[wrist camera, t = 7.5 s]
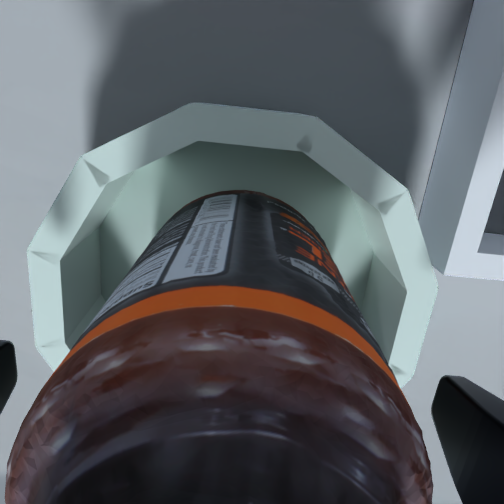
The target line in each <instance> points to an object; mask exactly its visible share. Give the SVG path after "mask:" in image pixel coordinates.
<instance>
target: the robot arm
mask: <svg viewBox="0 0 504 504" xmlns="http://www.w3.org/2000/svg"><path fill="white" fill-rule="evenodd" d="M16 382H17V366H16V357H15V348H14V345H13V343H12V342H10V341H6V340H0V414H1V412H2V411H3V409H4V407H5V405H6V403H7V401H8V399H9V397H10V395H11V393H12V391H13V389H14V387H15V385H16ZM431 414H432V419H433V422H434V425H435V428H436V431H437V434H438V437H439V440H440V443H441V446H442V449H443V452H444V455H445V458H446V461H447V464H448V467H449V470H450V473H451V476H452V478H453V481H454V484H455V486H456V489H457V491H458V494H459V496H460V498H461V501H462V503H463V504H504V401H503V400H501V399H500V398H498V397H496V396H495V395H493V394H491V393H490V392H488V391H486V390H485V389H483V388H481V387H480V386H478V385H476V384H475V383H473V382H471V381H470V380H468V379H466V378H464V377H461V376H450V375H445V376H443V377H442V378H441V379H440V381H439V384H438V387H437V390H436V393H435V396H434V400H433V403H432V407H431Z"/></svg>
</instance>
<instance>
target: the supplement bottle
mask: <svg viewBox="0 0 504 504" xmlns="http://www.w3.org/2000/svg"><path fill="white" fill-rule="evenodd" d="M432 493H433V482H432V474H431V470H430V460H429V458H428V453H427V450H426V446H425V444H424V440H423V436H422V430H421V428H420V427H419V425H418V423H417V421H416V420H415V417H414V415H413V412H412V410H411V408H410V406H409V404H408V402H407V400H406V398H405V396H404V394H403V393H402V391H401V389H400V387H399V384H398V382H397V380H396V377H395V375H394V373H393V371H392V369H391V368H390V367H389V365H388V362H387V360H386V358H385V357H384V354H383V352H382V350H381V348H380V346H379V344H378V343H377V341H376V339H375V337H374V336H373V334H372V332H371V329H370V327H369V326H368V324H367V322H366V320H365V318H364V317H363V315H362V313H361V311H360V309H359V308H358V306H357V304H356V302H355V300H354V298H353V297H352V295H351V293H350V292H349V289H348V287H347V286H346V284H345V282H344V280H343V277H342V275H341V274H340V272H339V269H338V267H337V265H336V264H335V263H334V261H333V259H332V257H331V254H330V252H329V250H328V248H327V247H326V244H325V242H324V240H323V239H322V238H321V236H320V234H319V233H318V232H317V231H316V229H315V228H314V226H313V225H312V224H310V223H309V222H308V220H307V219H306V218H305V217H304V216H303V215H302V214H300V213H299V212H298V211H297V210H296V209H294V208H293V207H292V206H290V205H288V204H287V203H285V202H283V201H282V200H280V199H277V198H275V197H272V196H269V195H267V194H265V193H261V192H256V191H249V190H229V191H220V192H215V193H213V194H208V195H205V196H202V197H200V198H198V199H195V200H193V201H191V202H190V203H188V204H186V205H185V206H184V207H182V208H181V209H180V210H179V211H177V212H176V213H175V214H174V215H173V216H172V217H171V218H170V219H169V220H168V221H167V222H166V223H165V224H164V225H163V227H162V228H161V229H160V230H159V231H158V232H157V234H156V235H155V237H154V238H153V239H152V240H151V242H150V243H149V244H148V246H147V247H146V249H145V250H144V251H143V253H142V254H141V255H140V257H139V258H138V259H137V261H136V262H135V263H134V265H133V266H132V268H131V269H130V270H129V272H128V273H127V275H126V276H125V277H124V278H123V280H122V281H121V283H120V284H119V285H118V286H117V288H116V289H115V291H114V292H113V293H112V295H111V296H110V297H109V299H108V300H107V301H106V303H105V304H104V305H103V307H102V308H101V309H100V311H99V312H98V313H97V315H96V316H95V317H94V319H93V320H92V321H91V323H90V324H89V325H88V327H87V328H86V329H85V331H84V332H83V334H82V335H81V336H80V337H79V339H78V340H77V341H76V343H75V344H74V345H73V347H72V348H71V350H70V352H69V353H68V355H67V356H66V357H65V358H64V360H63V361H62V362H61V364H60V365H59V366H58V368H57V369H56V370H55V372H54V373H53V374H52V376H51V377H50V378H49V380H48V381H47V382H46V384H45V385H44V387H43V388H42V389H41V391H40V393H39V394H38V396H37V398H36V400H35V401H34V403H33V405H32V407H31V408H30V410H29V412H28V414H27V415H26V417H25V419H24V420H23V422H22V425H21V427H20V430H19V432H18V435H17V437H16V440H15V442H14V445H13V447H12V450H11V453H10V456H9V460H8V463H7V475H6V488H5V502H6V504H432Z"/></svg>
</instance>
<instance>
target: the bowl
mask: <svg viewBox="0 0 504 504" xmlns="http://www.w3.org/2000/svg"><path fill="white" fill-rule="evenodd" d="M229 190H249V191H256V192H261V193H265V194H267V195H269V196H272V197H275V198H277V199H280V200H282V201H283V202H285V203H287V204H288V205H290V206H292V207H293V208H294V209H296V210H297V211H298V212H299V213H300V214H302V215H303V216H304V217H305V218H306V219H307V220H308V222H309V223H310V224H312V225H313V226H314V228H315V229H316V231H317V232H318V233H319V234H320V236H321V238H322V239H323V240H324V242H325V244H326V247H327V248H328V250H329V252H330V254H331V257H332V259H333V261H334V263H335V264H336V265H337V267H338V269H339V272H340V274H341V275H342V277H343V280H344V282H345V284H346V286H347V287H348V289H349V292H350V293H351V295H352V297H353V298H354V300H355V302H356V304H357V306H358V308H359V309H360V311H361V313H362V315H363V317H364V318H365V320H366V322H367V324H368V326H369V327H370V329H371V332H372V334H373V336H374V337H375V339H376V341H377V343H378V344H379V346H380V348H381V350H382V352H383V354H384V357H385V358H386V360H387V362H388V365H389V367H390V368H391V369H392V371H393V373H394V375H395V377H396V380H397V382H398V384H399V387H400V389H401V388H402V387H403V386H404V385H405V384H406V383H407V382H408V381H409V380H410V379H411V378H412V376H413V375H414V372H415V368H416V365H417V361H418V358H419V354H420V351H421V347H422V344H423V340H424V337H425V334H426V330H427V327H428V323H429V320H430V316H431V313H432V309H433V306H434V302H435V299H436V295H437V292H438V289H439V288H438V287H439V286H438V283H437V280H436V276H435V273H434V270H433V267H432V264H431V260H430V257H429V254H428V251H427V248H426V244H425V241H424V238H423V235H422V232H421V228H420V225H419V222H418V219H417V216H416V212H415V209H414V206H413V203H412V200H411V196H410V193H409V190H407V188H406V187H404V186H403V185H402V184H401V183H399V182H398V181H397V180H396V179H394V178H393V177H392V176H391V175H389V174H388V173H387V172H386V171H384V170H383V169H382V168H381V167H379V166H378V165H377V164H376V163H374V162H373V161H372V160H371V159H369V158H368V157H367V156H366V155H364V154H363V153H362V152H361V151H359V150H358V149H357V148H356V147H354V146H353V145H352V144H351V143H349V142H348V141H347V140H346V139H344V138H343V137H342V136H341V135H339V134H338V133H337V132H336V131H334V130H333V129H332V128H331V127H329V126H328V125H327V124H326V123H324V122H323V121H322V120H321V119H319V118H318V117H316V116H311V115H306V114H300V113H292V112H283V111H274V110H265V109H256V108H247V107H238V106H229V105H220V104H211V103H189V104H187V105H184V106H182V107H180V108H178V109H176V110H174V111H172V112H170V113H168V114H166V115H164V116H162V117H160V118H158V119H156V120H154V121H151V122H149V123H147V124H145V125H143V126H141V127H139V128H137V129H135V130H133V131H131V132H129V133H127V134H125V135H123V136H121V137H118V138H116V139H114V140H112V141H110V142H108V143H106V144H104V145H102V146H100V147H98V148H96V149H94V150H92V151H90V152H88V153H85V154H83V155H81V156H80V158H79V159H78V161H77V163H76V165H75V166H74V168H73V170H72V172H71V173H70V175H69V177H68V179H67V180H66V182H65V184H64V186H63V187H62V189H61V191H60V193H59V194H58V196H57V198H56V200H55V201H54V203H53V205H52V207H51V208H50V210H49V212H48V214H47V215H46V217H45V219H44V220H43V222H42V224H41V226H40V227H39V229H38V231H37V233H36V234H35V236H34V238H33V240H32V241H31V243H30V245H29V247H28V248H27V260H28V271H29V282H30V293H31V304H32V315H33V326H34V337H35V347H36V349H37V350H38V351H39V353H40V354H41V355H42V357H43V358H44V359H45V361H46V362H47V364H48V365H49V366H50V368H51V369H52V370H53V372H55V370H56V369H57V368H58V366H59V365H60V364H61V362H62V361H63V360H64V358H65V357H66V356H67V355H68V353H69V352H70V350H71V348H72V347H73V345H74V344H75V343H76V341H77V340H78V339H79V337H80V336H81V335H82V334H83V332H84V331H85V329H86V328H87V327H88V325H89V324H90V323H91V321H92V320H93V319H94V317H95V316H96V315H97V313H98V312H99V311H100V309H101V308H102V307H103V305H104V304H105V303H106V301H107V300H108V299H109V297H110V296H111V295H112V293H113V292H114V291H115V289H116V288H117V286H118V285H119V284H120V283H121V281H122V280H123V278H124V277H125V276H126V275H127V273H128V272H129V270H130V269H131V268H132V266H133V265H134V263H135V262H136V261H137V259H138V258H139V257H140V255H141V254H142V253H143V251H144V250H145V249H146V247H147V246H148V244H149V243H150V242H151V240H152V239H153V238H154V237H155V235H156V234H157V232H158V231H159V230H160V229H161V228H162V227H163V225H164V224H165V223H166V222H167V221H168V220H169V219H170V218H171V217H172V216H173V215H174V214H175V213H176V212H177V211H179V210H180V209H181V208H182V207H184V206H185V205H186V204H188V203H190V202H191V201H193V200H195V199H198V198H200V197H202V196H205V195H208V194H213V193H215V192H220V191H229Z"/></svg>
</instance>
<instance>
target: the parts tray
mask: <svg viewBox="0 0 504 504" xmlns="http://www.w3.org/2000/svg"><path fill="white" fill-rule="evenodd" d="M503 169H504V0H474V4H473V7H472V11H471V15H470V19H469V23H468V27H467V31H466V35H465V39H464V43H463V47H462V51H461V55H460V59H459V63H458V66H457V70H456V74H455V78H454V82H453V86H452V90H451V94H450V98H449V102H448V106H447V110H446V114H445V118H444V122H443V125H442V129H441V133H440V137H439V141H438V145H437V149H436V153H435V157H434V161H433V165H432V169H431V173H430V177H429V181H428V184H427V188H426V192H425V196H424V200H423V204H422V208H421V212H420V216H419V220H418V222H419V225H420V228H421V232H422V235H423V238H424V241H425V244H426V248H427V251H428V254H429V257H430V260H431V264H432V266H433V267H435V268H436V269H437V270H438V271H439V272H440V273H442V274H443V275H446V276H457V277H468V278H479V279H490V280H501V281H504V235H502V234H492V233H483V232H484V229H485V226H486V223H487V220H488V217H489V213H490V210H491V207H492V204H493V201H494V197H495V194H496V191H497V188H498V185H499V182H500V178H501V175H502V172H503Z"/></svg>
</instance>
